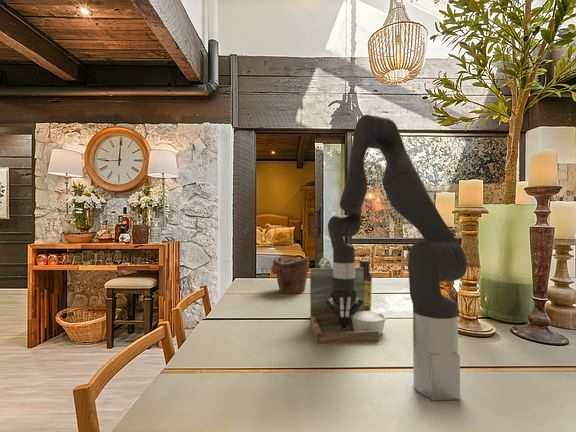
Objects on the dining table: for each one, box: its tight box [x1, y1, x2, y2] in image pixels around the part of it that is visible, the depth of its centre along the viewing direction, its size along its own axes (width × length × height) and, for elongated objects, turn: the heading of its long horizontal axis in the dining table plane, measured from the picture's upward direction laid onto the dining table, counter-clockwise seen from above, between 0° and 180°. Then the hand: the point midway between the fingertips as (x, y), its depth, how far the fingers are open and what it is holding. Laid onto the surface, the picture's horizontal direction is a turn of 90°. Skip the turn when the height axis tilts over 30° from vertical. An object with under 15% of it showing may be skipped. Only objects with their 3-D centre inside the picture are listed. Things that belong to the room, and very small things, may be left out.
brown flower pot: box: [270, 256, 311, 295], centre depth 171 cm, size 18×20×18 cm
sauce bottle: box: [359, 259, 373, 311], centre depth 139 cm, size 6×6×20 cm
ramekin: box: [351, 310, 386, 335], centre depth 112 cm, size 11×11×5 cm
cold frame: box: [309, 267, 380, 344], centre depth 111 cm, size 17×19×20 cm
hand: (343, 327), depth 111 cm, fingers closed
